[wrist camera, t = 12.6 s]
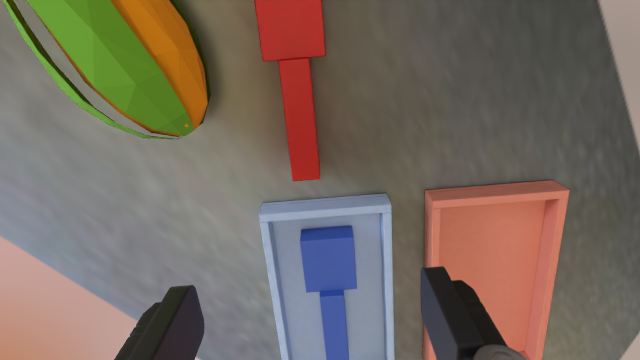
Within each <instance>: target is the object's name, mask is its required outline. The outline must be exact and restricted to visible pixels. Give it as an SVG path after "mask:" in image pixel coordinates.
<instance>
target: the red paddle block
mask: <svg viewBox="0 0 640 360" xmlns="http://www.w3.org/2000/svg"><path fill="white" fill-rule="evenodd" d="M255 7H256V15H257V22H258V30H259V37H260V44H261V52H262V59H263V61H264V62H265V61H276V60H280V61H279V71H280V79H281V87H282V95H283V104H284V112H285V120H286V128H287V137H288V145H289V153H290V162H291V170H292V178H293V181H302V180H314V179H320V161H319V150H318V140H317V129H316V118H315V107H314V96H313V85H312V74H311V63H310V57H320V56H325V55H326V52H325V39H324V26H323V13H322V0H255Z"/></svg>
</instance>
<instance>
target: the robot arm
mask: <svg viewBox="0 0 640 360" xmlns="http://www.w3.org/2000/svg"><path fill="white" fill-rule="evenodd" d="M421 312H422V317H423V321H424V324H425V327H426V330H427V333H428V336H429V339H430V341H431V344H432V347H433V350H434V353H435V355H436V358H437V360H527V359H526V358H525V357H524V356H523V355H522V354H520V353H519V352H518V351H516V350H514V349H512V348H510V347H508V346H507V344H506V343H505V341H504V339H503V337H502V336H501V334H500V332H499V331H498V329H497V327H496V326H495V324H494V322H493V321H492V319H491V317H490V316H489V314H488V312H486V309H485V307H484V306H483V304H482V302H480V299H479V297H478V295H477V294H476V292H475V290H474V289H473V288H472V287H470V286H469V285H468V284H466V283H465V282H464V281H463V280H453V281H452V280H451V278H450V276H449V274H448V272H447V271H446V269H445V267H444V266H439V267H427V268H422V269H421ZM203 335H204V318H203V315H202V311H201V307H200V303H199V299H198V295H197V292H196V289H195V287H194V286H193V285H189V286H176V287H171V288H170V289H169V290H168V292H167V294H166V295H165V297H164V299H163V300H162V302H158V303H155V304H154V305H153V306H151V307H150V308H149V309H148V310H147V311H146V312H145V313H143V315H142V317H141V318H140V320H139V321H138V323H137V325H136V327H135V328H134V329H133V331H132V333H131V334H130V337H129V338H128V339H127V340H126V342H125V344H124V345H123V347H122V348H121V350H120V351H119V353H118V354H117V356H116V358H115V359H114V360H194V359H195V357H196V354H197V351H198V349H199V346H200V344H201V341H202V338H203Z"/></svg>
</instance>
